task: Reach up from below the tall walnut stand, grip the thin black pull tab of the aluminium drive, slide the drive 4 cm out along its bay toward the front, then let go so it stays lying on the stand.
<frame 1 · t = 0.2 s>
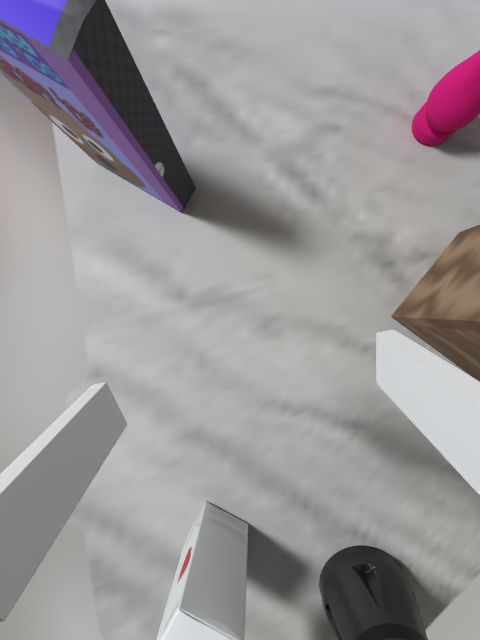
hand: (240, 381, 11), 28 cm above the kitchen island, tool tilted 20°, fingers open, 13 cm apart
supplement box: (216, 530, 41), on the kitchen island
stand: (474, 311, 37), on the kitchen island
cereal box: (146, 176, 39), on the kitchen island
pepper mill: (430, 126, 36), on the kitchen island
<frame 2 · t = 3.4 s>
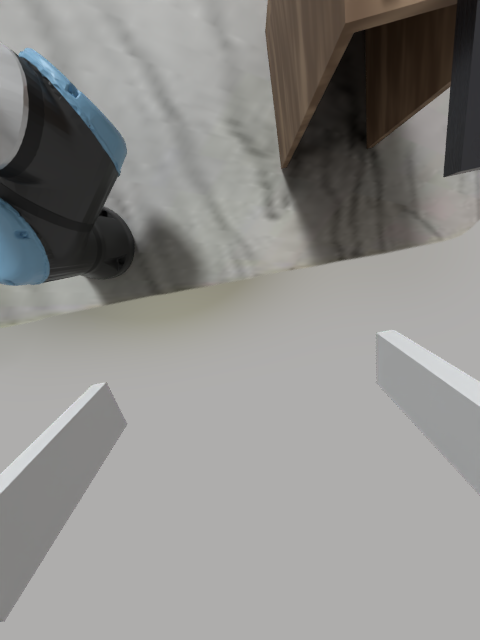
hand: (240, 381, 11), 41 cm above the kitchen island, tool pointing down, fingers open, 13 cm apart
stand: (321, 92, 39), on the kitchen island
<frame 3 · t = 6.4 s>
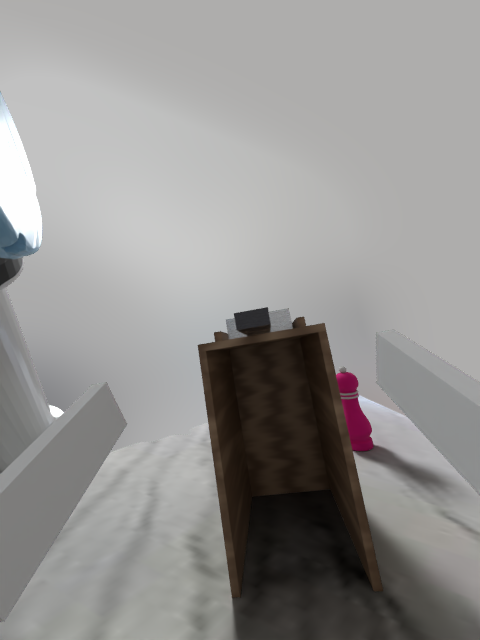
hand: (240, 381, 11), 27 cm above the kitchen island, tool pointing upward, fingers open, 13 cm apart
stand: (295, 525, 35), on the kitchen island
drive: (262, 338, 41), point 30 cm above the kitchen island, touching stand
pepper mill: (359, 446, 57), on the kitchen island
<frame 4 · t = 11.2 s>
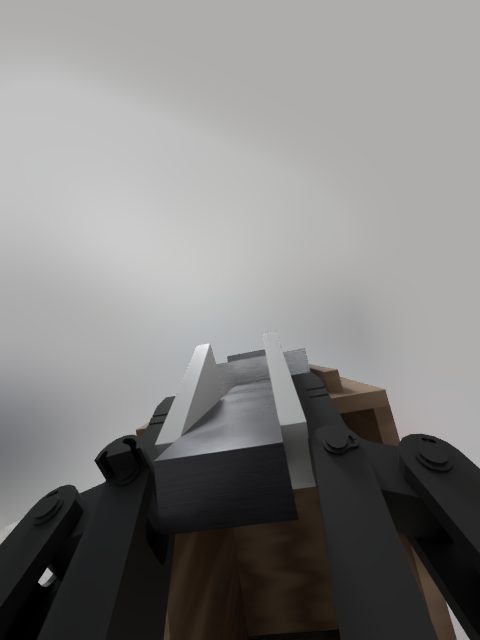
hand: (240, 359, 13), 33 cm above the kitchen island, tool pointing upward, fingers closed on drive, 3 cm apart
drive: (259, 386, 27), point 30 cm above the kitchen island, touching gripper, stand
when the fingers open (34 cm above the kitchen island, at t = 12.4 s): drive stays where it is, resting on stand.
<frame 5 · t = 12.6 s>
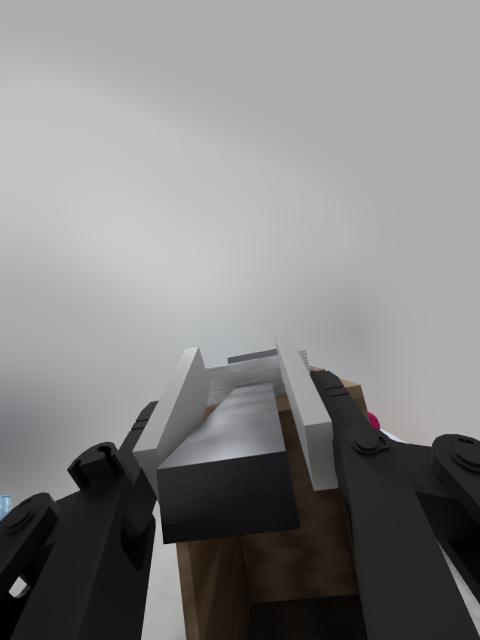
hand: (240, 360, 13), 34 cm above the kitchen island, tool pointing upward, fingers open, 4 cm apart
drive: (260, 388, 27), point 30 cm above the kitchen island, touching stand
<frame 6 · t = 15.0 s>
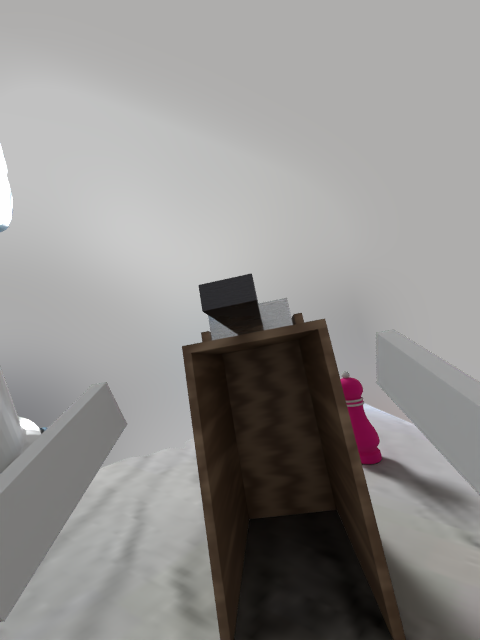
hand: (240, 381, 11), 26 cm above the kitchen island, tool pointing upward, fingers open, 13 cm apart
stand: (297, 555, 31), on the kitchen island
drive: (255, 338, 34), point 30 cm above the kitchen island, touching stand
pepper mill: (366, 458, 52), on the kitchen island
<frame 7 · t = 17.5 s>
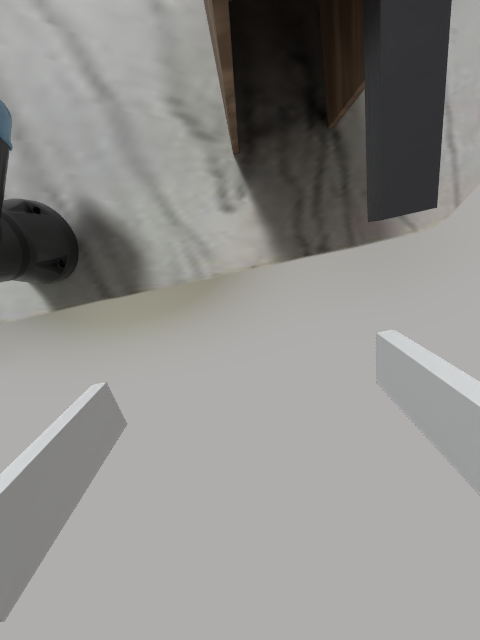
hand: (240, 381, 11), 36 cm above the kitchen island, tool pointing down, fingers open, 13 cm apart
stand: (272, 63, 34), on the kitchen island
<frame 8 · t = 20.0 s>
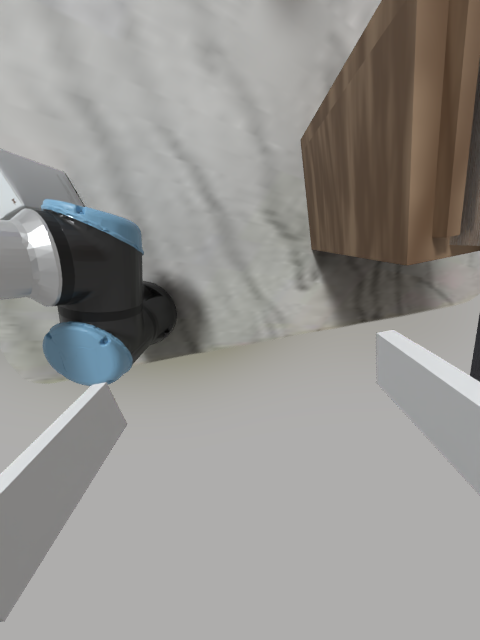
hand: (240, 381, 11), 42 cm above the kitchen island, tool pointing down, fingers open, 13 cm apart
supplement box: (60, 203, 46), on the kitchen island
stand: (349, 188, 44), on the kitchen island
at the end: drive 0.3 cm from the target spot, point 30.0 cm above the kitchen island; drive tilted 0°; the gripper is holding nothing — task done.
